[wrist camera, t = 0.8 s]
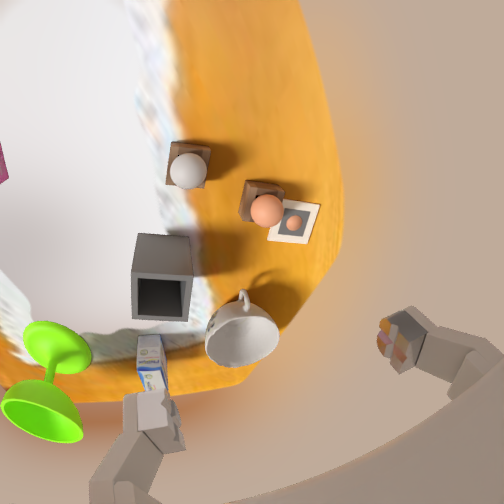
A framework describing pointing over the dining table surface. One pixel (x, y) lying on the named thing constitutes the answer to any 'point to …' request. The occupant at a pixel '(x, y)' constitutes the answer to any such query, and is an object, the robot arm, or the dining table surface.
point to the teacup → (240, 333)
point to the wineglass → (48, 384)
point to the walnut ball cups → (204, 152)
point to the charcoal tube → (161, 278)
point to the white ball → (188, 171)
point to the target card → (294, 222)
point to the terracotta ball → (267, 211)
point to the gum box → (2, 168)
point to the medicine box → (152, 362)
